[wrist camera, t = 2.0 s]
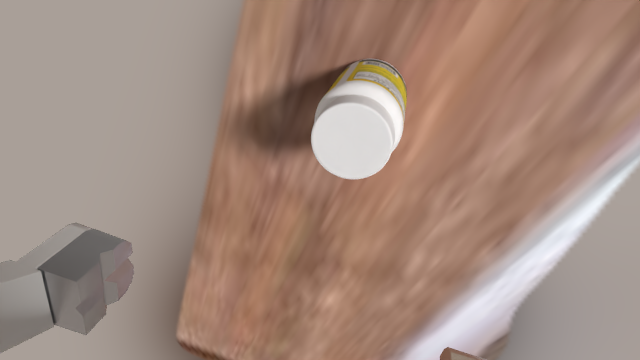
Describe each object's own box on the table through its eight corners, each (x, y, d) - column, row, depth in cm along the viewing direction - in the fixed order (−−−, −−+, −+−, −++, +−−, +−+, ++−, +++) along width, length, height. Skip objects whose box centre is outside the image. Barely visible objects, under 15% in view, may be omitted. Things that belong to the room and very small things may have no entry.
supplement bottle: (350, 136, 27) (323, 196, 20) (324, 73, 26) (285, 114, 19) (417, 115, 26) (413, 172, 18) (394, 45, 24) (380, 79, 17)
